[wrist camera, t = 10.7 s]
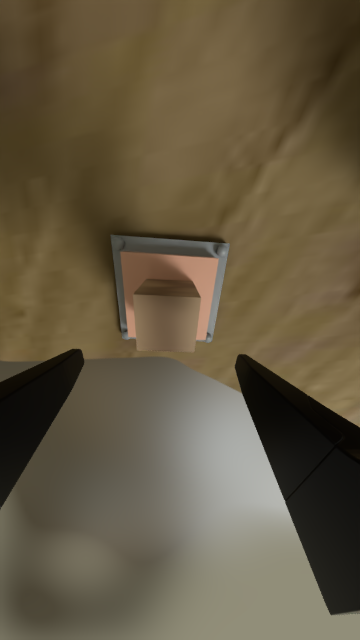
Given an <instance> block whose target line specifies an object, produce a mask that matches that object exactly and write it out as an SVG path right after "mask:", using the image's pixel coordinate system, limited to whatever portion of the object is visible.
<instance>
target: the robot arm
mask: <svg viewBox="0 0 360 640" xmlns="http://www.w3.org/2000/svg"><path fill="white" fill-rule="evenodd" d="M83 365H84V358H83V354H82V351H81V350H80V349H71V350H69V351H67V352H65V353H62V354H60V355H58V356H56V357H54V358H52V359H49V360H47V361H45V362H43V363H41V364H39V365H36V366H34V367H32V368H30V369H28V370H26V371H23V372H21V373H19V374H17V375H15V376H13V377H10V378H8V379H6V380H4V381H2V382H0V509H1V507H2V506H3V504H4V502H5V501H6V499H7V497H8V496H9V494H10V492H11V491H12V489H13V487H14V486H15V484H16V482H17V481H18V479H19V477H20V476H21V474H22V472H23V471H24V469H25V467H26V466H27V464H28V462H29V461H30V459H31V457H32V456H33V454H34V452H35V451H36V449H37V447H38V446H39V444H40V442H41V441H42V439H43V437H44V436H45V434H46V432H47V431H48V429H49V427H50V426H51V424H52V422H53V421H54V419H55V417H56V416H57V414H58V412H59V411H60V409H61V407H62V406H63V404H64V402H65V401H66V399H67V397H68V396H69V394H70V392H71V390H72V388H73V386H74V384H75V382H76V380H77V378H78V376H79V374H80V372H81V369H82V367H83ZM235 370H236V373H237V377H238V381H239V384H240V388H241V391H242V394H243V397H244V399H245V402H246V404H247V407H248V409H249V412H250V415H251V417H252V420H253V422H254V425H255V427H256V430H257V432H258V435H259V437H260V440H261V442H262V445H263V447H264V450H265V452H266V455H267V457H268V460H269V462H270V465H271V467H272V470H273V472H274V475H275V477H276V480H277V483H278V485H279V488H280V490H281V493H282V495H283V498H284V500H285V503H286V505H287V508H288V510H289V513H290V516H291V518H292V521H293V523H294V526H295V528H296V531H297V533H298V536H299V538H300V541H301V543H302V546H303V548H304V551H305V553H306V556H307V558H308V561H309V563H310V566H311V568H312V571H313V573H314V576H315V579H316V581H317V583H318V586H319V588H320V591H321V594H322V596H323V599H324V601H325V603H326V606H327V608H328V610H329V612H330V614H331V615H344V614H356V613H357V614H358V613H360V427H358V426H357V425H355V424H353V423H352V422H350V421H348V420H347V419H345V418H343V417H342V416H340V415H338V414H337V413H335V412H333V411H332V410H330V409H328V408H327V407H325V406H324V405H322V404H321V403H319V402H318V401H316V400H314V399H313V398H311V397H310V396H307V394H305V393H304V392H302V391H301V390H299V389H298V388H296V387H295V386H293V385H292V384H290V383H289V382H287V381H286V380H284V379H282V378H281V377H279V376H278V375H276V374H275V373H273V372H272V371H270V370H269V369H267V368H266V367H264V366H263V365H261V364H260V363H258V362H257V361H255V360H253V359H252V358H250V357H249V356H247V355H245V354H239V355H238V357H237V360H236V364H235Z"/></svg>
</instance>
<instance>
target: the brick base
mask: <svg viewBox="0 0 360 640" xmlns="http://www.w3.org/2000/svg"><path fill="white" fill-rule="evenodd" d="M111 244H112V252H113V261H114V269H115V278H116V287H117V296H118V305H119V313H120V322H121V331H122V338H124V339H126V340H128V339H136V330H135V316H134V303H133V294H134V293H135V291H136V290H137V289H138V288H139V287H140V286H141V284H142V283H143V282H144V281H145V280H146V279H162V280H181V281H193V283H194V285H195V287H196V289H197V291H198V292H199V294H200V296H201V303H200V311H199V319H198V328H197V336H196V341H205V342H207V343H209V342H212V338H213V332H214V327H215V321H216V316H217V311H218V305H219V300H220V294H221V289H222V283H223V278H224V273H225V267H226V262H227V256H228V251H229V245H230V244H226V243H213V242H199V241H186V240H173V239H159V238H146V237H133V236H119V235H111Z"/></svg>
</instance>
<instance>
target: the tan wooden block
mask: <svg viewBox="0 0 360 640" xmlns="http://www.w3.org/2000/svg"><path fill="white" fill-rule="evenodd" d="M133 303H134V316H135V330H136V343H137V351H168V352H195V344H196V336H197V328H198V319H199V311H200V303H201V296H200V294H199V292H198V291H197V289H196V287H195V285H194V283H193V281H181V280H162V279H146V280H145V281H144V282H143V283H142V284H141V286H140V287H139V288H138V289H137V290H136V291H135V293H134V294H133Z"/></svg>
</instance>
